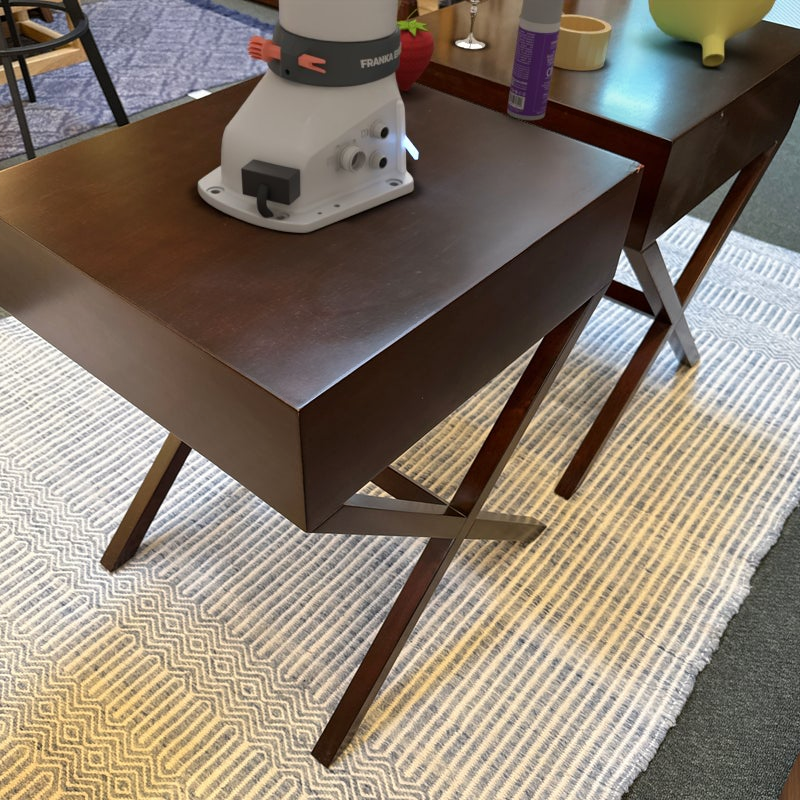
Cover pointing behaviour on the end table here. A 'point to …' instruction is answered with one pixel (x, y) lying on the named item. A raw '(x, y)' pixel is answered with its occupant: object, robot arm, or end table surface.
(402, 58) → the strawberry
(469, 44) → the wineglass
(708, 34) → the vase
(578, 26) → the tape roll
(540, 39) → the container
